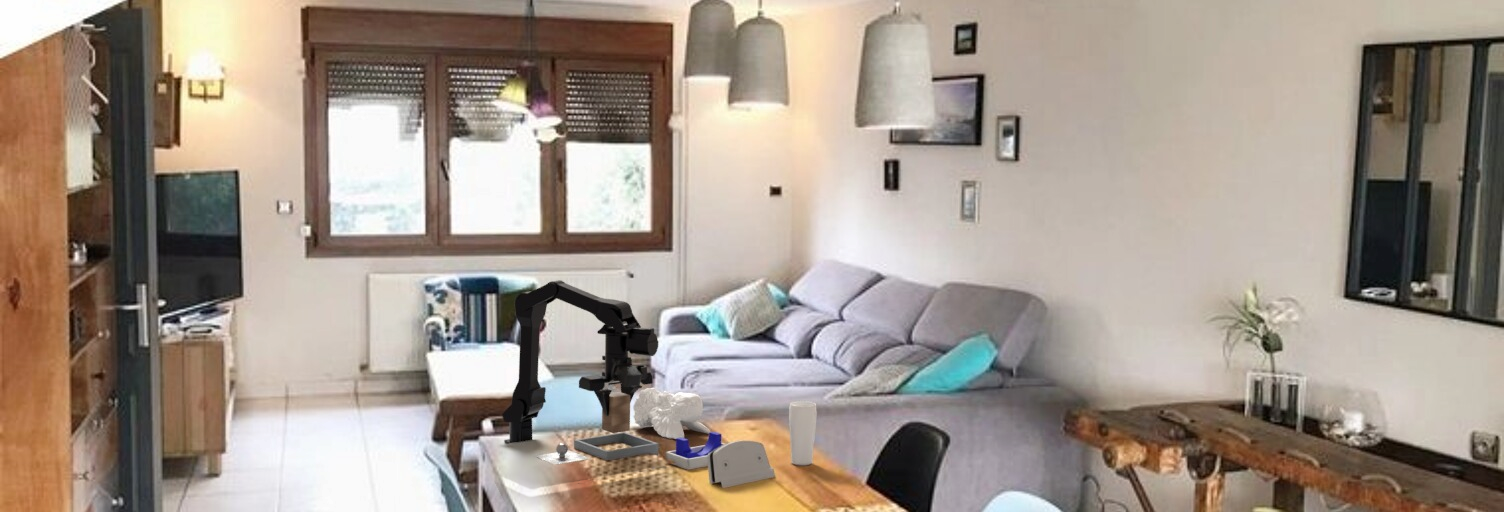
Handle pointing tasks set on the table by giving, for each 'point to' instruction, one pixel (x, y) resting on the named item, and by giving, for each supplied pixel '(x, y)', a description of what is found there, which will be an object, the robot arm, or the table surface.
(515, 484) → the table surface
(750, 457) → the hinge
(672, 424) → the cherub figurine
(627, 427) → the wooden block
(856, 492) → the table surface
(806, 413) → the drinking glass
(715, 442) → the cable clip
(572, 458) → the stud plate
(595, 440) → the tray
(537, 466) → the table surface
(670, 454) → the clip organiser
